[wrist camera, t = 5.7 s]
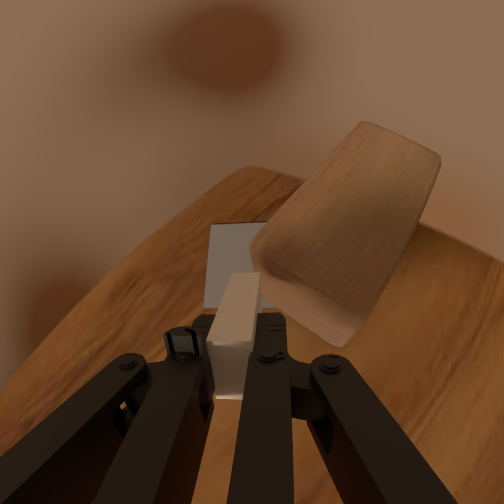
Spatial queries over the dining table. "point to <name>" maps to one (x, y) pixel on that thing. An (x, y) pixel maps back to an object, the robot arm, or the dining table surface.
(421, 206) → the wooden block
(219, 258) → the felt pad
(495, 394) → the dining table surface
